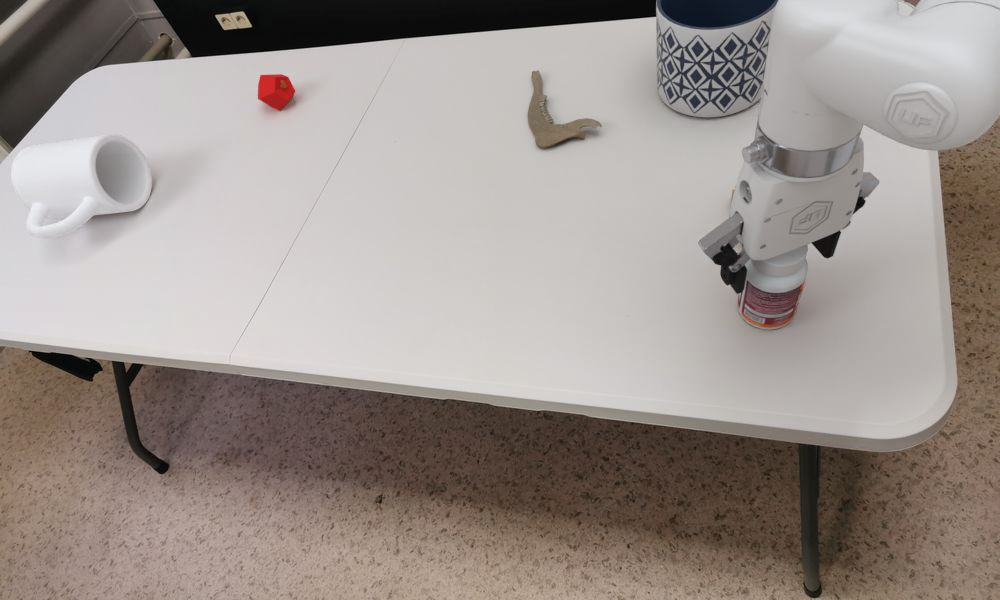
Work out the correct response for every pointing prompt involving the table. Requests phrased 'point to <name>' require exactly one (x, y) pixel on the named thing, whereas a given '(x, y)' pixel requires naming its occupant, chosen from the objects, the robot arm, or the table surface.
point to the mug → (79, 181)
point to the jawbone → (543, 122)
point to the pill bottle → (773, 289)
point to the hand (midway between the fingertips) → (776, 265)
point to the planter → (712, 54)
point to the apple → (275, 90)
